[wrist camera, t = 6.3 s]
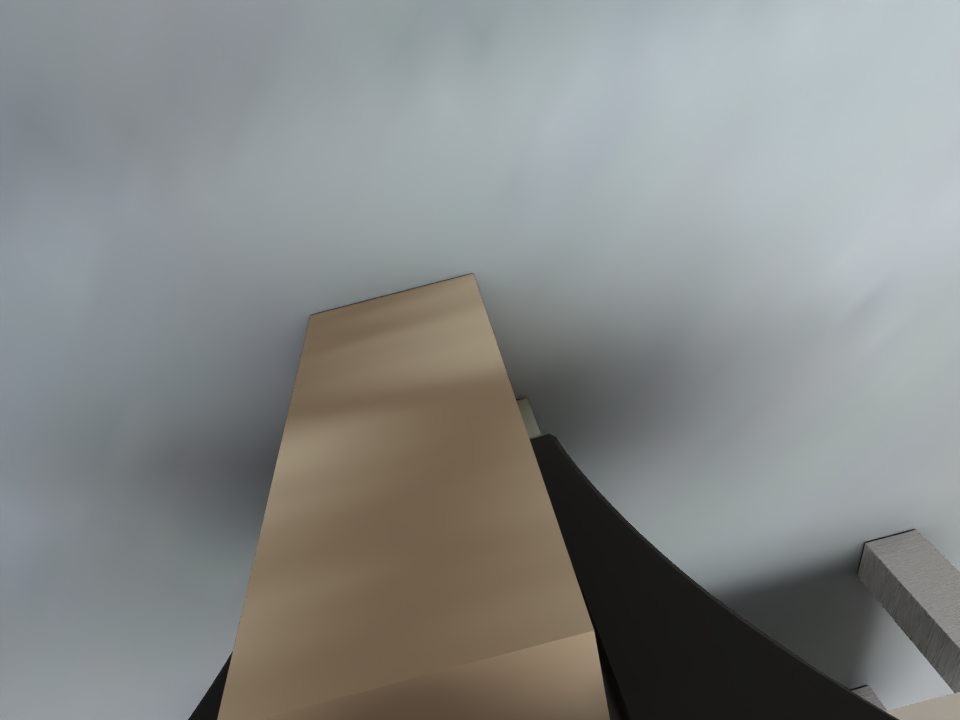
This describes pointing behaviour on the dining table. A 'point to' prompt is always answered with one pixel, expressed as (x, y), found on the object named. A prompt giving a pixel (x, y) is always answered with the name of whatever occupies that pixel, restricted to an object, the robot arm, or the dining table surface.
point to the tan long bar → (411, 535)
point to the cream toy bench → (918, 612)
